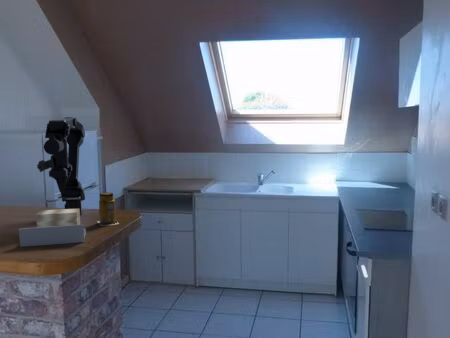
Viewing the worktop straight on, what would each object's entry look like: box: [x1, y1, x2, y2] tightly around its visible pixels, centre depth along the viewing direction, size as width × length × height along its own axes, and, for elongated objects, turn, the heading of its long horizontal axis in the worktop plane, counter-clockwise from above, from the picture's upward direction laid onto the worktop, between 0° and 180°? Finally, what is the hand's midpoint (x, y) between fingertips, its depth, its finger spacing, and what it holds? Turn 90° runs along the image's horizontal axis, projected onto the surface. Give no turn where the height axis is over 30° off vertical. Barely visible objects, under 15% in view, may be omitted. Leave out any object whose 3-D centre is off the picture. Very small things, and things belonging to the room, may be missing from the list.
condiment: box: [96, 191, 120, 227], centre depth 176 cm, size 7×8×12 cm
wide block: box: [35, 208, 82, 227], centre depth 164 cm, size 14×7×8 cm, turn 99°
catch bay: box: [18, 223, 87, 248], centre depth 154 cm, size 11×20×6 cm, turn 102°
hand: (62, 191), depth 175 cm, fingers open, 5 cm apart
